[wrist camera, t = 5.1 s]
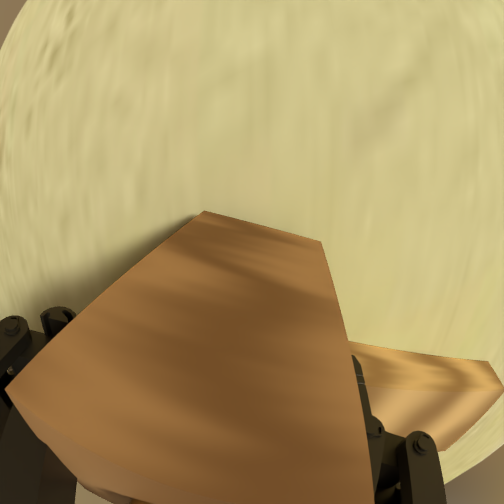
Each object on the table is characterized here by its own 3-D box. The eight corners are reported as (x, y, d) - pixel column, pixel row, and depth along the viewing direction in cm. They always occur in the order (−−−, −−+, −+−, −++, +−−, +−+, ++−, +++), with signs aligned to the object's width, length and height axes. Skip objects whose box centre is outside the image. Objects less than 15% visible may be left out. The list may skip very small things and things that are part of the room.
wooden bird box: (179, 395, 19) (119, 534, 7) (204, 210, 14) (-31, 431, 1) (252, 415, 19) (220, 565, 7) (320, 241, 13) (375, 568, 1)
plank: (142, 370, 21) (122, 403, 17) (141, 284, 17) (109, 316, 14) (436, 422, 20) (445, 450, 16) (488, 361, 16) (505, 389, 12)
